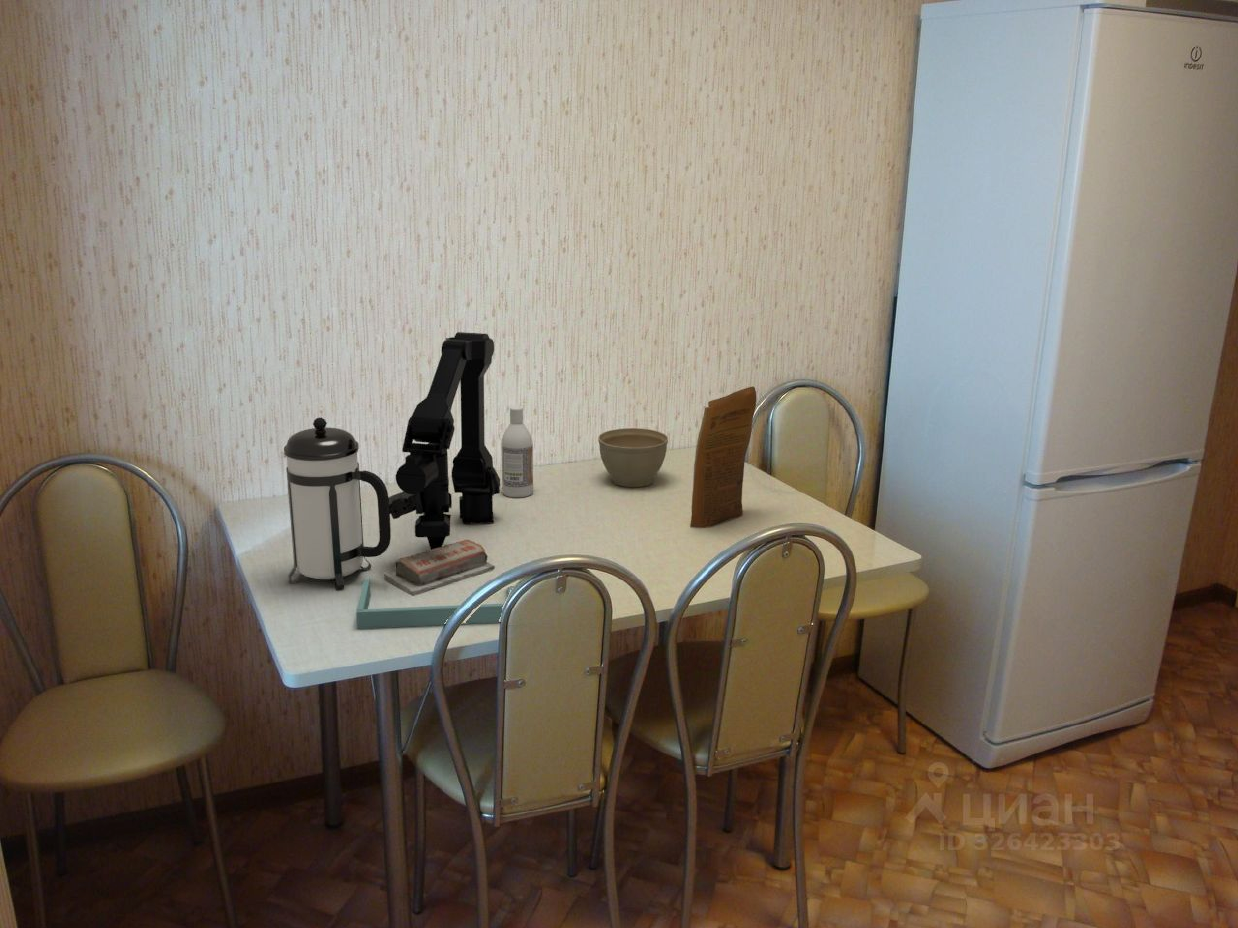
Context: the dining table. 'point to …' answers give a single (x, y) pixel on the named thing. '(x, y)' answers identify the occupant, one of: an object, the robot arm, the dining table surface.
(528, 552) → the dining table surface
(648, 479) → the planter bowl
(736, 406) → the pancake mix bag
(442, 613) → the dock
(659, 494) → the dining table surface
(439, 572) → the packaged product
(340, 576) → the coffee press
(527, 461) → the bath foam
